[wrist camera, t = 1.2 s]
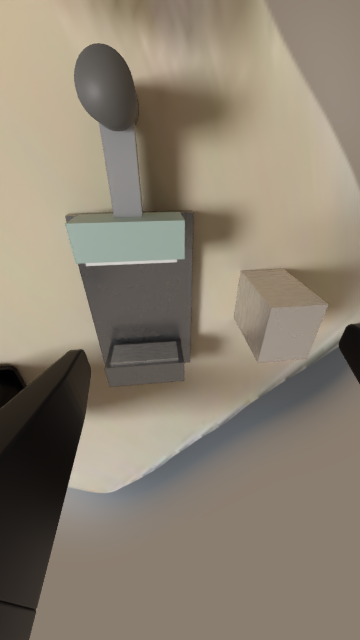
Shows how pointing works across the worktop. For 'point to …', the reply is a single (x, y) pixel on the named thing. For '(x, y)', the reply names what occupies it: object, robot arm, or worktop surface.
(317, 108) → the worktop surface
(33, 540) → the robot arm
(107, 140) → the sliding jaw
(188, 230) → the base
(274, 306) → the steel block
